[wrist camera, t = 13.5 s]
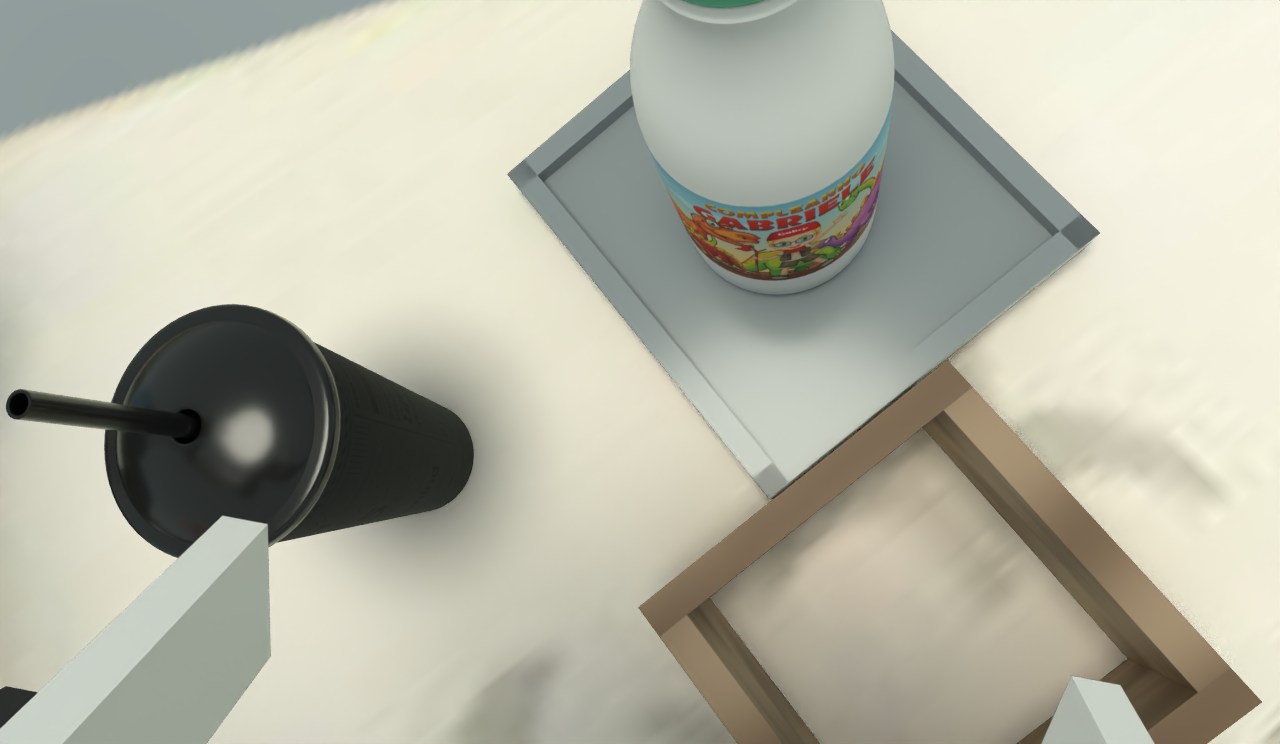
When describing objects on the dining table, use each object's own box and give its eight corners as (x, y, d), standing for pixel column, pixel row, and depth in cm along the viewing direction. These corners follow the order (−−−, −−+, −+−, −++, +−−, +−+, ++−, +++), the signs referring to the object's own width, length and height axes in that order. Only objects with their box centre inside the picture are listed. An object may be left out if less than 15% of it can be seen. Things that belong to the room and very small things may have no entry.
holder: (668, 591, 35) (638, 607, 29) (925, 385, 34) (947, 359, 29) (888, 887, 32) (904, 971, 26) (1179, 666, 31) (1262, 702, 25)
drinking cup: (315, 448, 39) (-170, 389, 20) (437, 339, 39) (63, 172, 20) (407, 580, 38) (-31, 655, 18) (537, 467, 37) (230, 420, 18)
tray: (521, 188, 39) (507, 174, 38) (792, -42, 38) (790, -68, 37) (771, 499, 35) (769, 498, 33) (1085, 247, 34) (1100, 232, 32)
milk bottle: (657, 178, 37) (476, -183, 18) (818, 89, 36) (811, -395, 17) (739, 331, 35) (636, 114, 16) (911, 241, 34) (1021, -105, 15)
